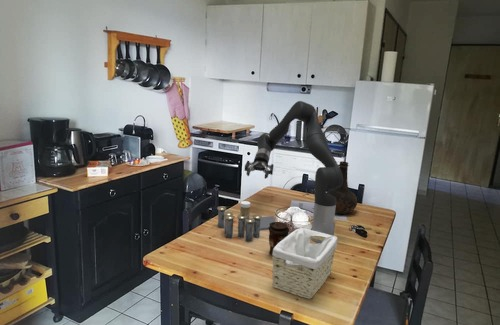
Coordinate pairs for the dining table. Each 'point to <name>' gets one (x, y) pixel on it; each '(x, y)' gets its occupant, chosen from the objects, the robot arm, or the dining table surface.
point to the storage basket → (303, 262)
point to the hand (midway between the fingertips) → (256, 175)
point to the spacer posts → (239, 224)
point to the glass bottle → (344, 193)
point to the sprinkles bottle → (245, 209)
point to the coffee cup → (277, 234)
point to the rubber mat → (266, 222)
